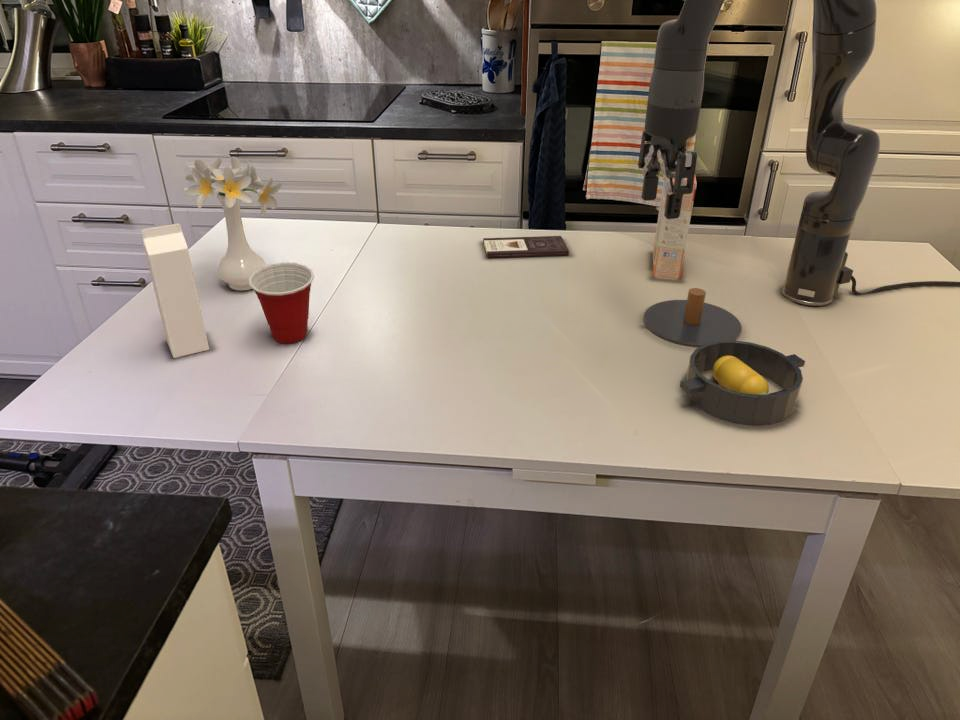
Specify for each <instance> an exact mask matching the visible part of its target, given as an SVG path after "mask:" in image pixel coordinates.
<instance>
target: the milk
mask: <svg viewBox="0 0 960 720" xmlns="http://www.w3.org/2000/svg"><path fill="white" fill-rule="evenodd" d="M140 232H141V237H142V245H143V250H144V254H145V259H146V263H147V266H148V270H149V274H150V278H151V282H152V286H153V290H154V294H155V298H156V302H157V307H158V311H159V315H160V319H161V323H162V326H163V331H164V334H165V340H166V343H167V345H168V348H169V351H170V353H171V355H172V358H174V359H176V358H180V357H184V356H188V355H194V354H198V353H200V352H206V351H209V350H210V346H209V341H208V337H207V332H206V326H205V321H204V317H203V312H202V307H201V304H200V299H199V294H198V290H197V284H196V279H195V276H194V270H193V266H192V261H191V256H190V251H189V247H188V245H187V241H186V238H185V235H184V233H183V229H182V225H181V223H173V224H167V225H160V226H155V227H148V228H143V229H141V231H140Z"/></svg>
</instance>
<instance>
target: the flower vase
mask: <svg viewBox="0 0 960 720" xmlns="http://www.w3.org/2000/svg"><path fill="white" fill-rule="evenodd" d="M246 162H247V166H244V167H243V168H242V169H241V163H240V161H239V159H238V158H237V157H236V156H231V157H230V164H231V168H230V167H229V166H225V167H224V168H223V170H222V169H219V168H220V166H221V165H222V158H220V157H218V158H215V159H214V160H213V161H211V163H210V164H209V166H208V164H207V163H206V162H205V161H204V160H203V159H200V158H197V159H195V160H194V167H193V168H192V169H191V173H190V174H187V175H186V176H185V180H186V181H188V182H195V184H192V185H190V186H189V187H188V188H186V196H189V197H195V196H196V197H197V200H196V206H197V208H198V209H202V208H203V206H204V204H205V202H206V200H207V198H208V197H209V198H212V197H213V196H214V194H215V192H217V194H216V198H217V199H218V200H219V203H220V205H221V207H222V211H223V214H224V218H225V219H224V220H225V223H226V225H225V226H226V233H227V248H226V252H225V255H224V256H223V257H222V258H221V260H220V261H219V263H218V267H217V274H218V277H220V279H221V281H223V282H225V283H226V284H227V285H228V287H229V288H230V289H231V290H233V291H234V290H235V291H238V292H239V291H242V292H243V291H249V290H253V289H252V288H251V286H250V283H249V278H250V276H251V275H252V273H254V272H255V271H256V270H258V269H259V268H262V267H264V266H267V264H266V262H265V260H264V258H263V257H262V256H261V255H260V254H258V253H257V252H255V251H254V250H253V249H252V247H251V246H250V245H249V242H248V239H247V237H246V234H245V229H244V225H243V224H244V223H243V219H242V214H241V213H242V211H241V202H243V203H245V204H252V202H254V201H253V198H252V196H251V195H250V193H248V192H253V193H255V194H257V195H258V198H257V203H258V204H259V208H260V216H261V217H262V218H264V217H265V216H266V214H267V208H268V207H269V208H270V209H271V210H275V209H276V208H278V202H277V199H276V198H275V197H274V196H273V195H275V194H276V193H278V192H279V191H280V190H281V188H282V186H283V185H282V182H277V183H275V184H273V177H270V178H269V179H268V180H267V181H266V183H265V185H264V183H262V179H261V177H260V176H259V174H258V173H257V172H256V167H255V166H254V165H251V164H250V162H249V160H248V159H246ZM267 206H268V207H267Z"/></svg>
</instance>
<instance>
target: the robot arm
mask: <svg viewBox="0 0 960 720" xmlns="http://www.w3.org/2000/svg"><path fill="white" fill-rule="evenodd" d="M683 1H684V3H683V6H682V8H681V10H680V13H679V15H678V18H676V19H671V20H667V21H665V22H663V23H662V24H661V25H660V27H659V28H658V31H657V36H656V42H655V43H656V44H655V51H654V60H653V67H652V73H651V76H650V80H649V87H648V95H647V102H646V103H647V104H646V110H645V111H646V113H645V121H644V128H643V129H644V130H643V131H642V135H641V142H640V148H639V155H638V161H637V162H638V163H637V167H638V169H642V170H641V175H642V176H643V182H642V183H643V184H642V190H641V199H642V200H643V201H644V202H645V201H655V200H656V199H657V194H658V189H659V188H658V187H659V180H660V177H659V175H660V173H661V178H662V180H663V181H666V185H667V191H668V194H667V199H666V206H665V213H664V216H665V217H666V218H667V219H676V218H678V217H679V216H680V211H681V204H682V197H683V195H684V194H691V193H692V191H693V184H694V176H695V177H696V167H697V160H698V153H697V151H687V140H689V139H690V138H693V137H694V136H696V135H697V132H698V125H699V120H700V119H699V118H700V113H701V107H702V106H701V105H702V100H703V93H704V87H705V68H706V62H707V55H708V48H709V42H710V37H711V34H712V32H713V29H714V28H715V25H716V23H717V20H718V17H719V15H720V12H721V10H722V7H723V5H724V3H725V0H683ZM812 1H813V4H812V5H813V8H812V9H813V13H812V25H811V26H812V29H811V30H812V31H811V32H812V33H811V34H812V36H811V37H812V38H811V40H812V41H811V42H812V43H811V50H812V51H811V52H812V75H811V76H812V78H811V96H810V97H811V99H810V108H809V109H810V110H809V117H808V126H807V133H806V142H805V157H806V162H807V165H808V167H809V168H810V169H812V170H813V171H814V172H817V173H820V174H822V175H825V176H829V177H832V178H835V179H834V182H833V184H832V187H831V189H827V190H817V191H816V190H815V191H812V192H810V193H807V195H806V196H805V198H804V201H803V204H802V207H801V208H802V209H801V212H800V217H799V222H798V225H797V230H796V234H795V238H794V241H793V246H792V251H791V254H790V258H789V263H788V266H787V270H786V275H785V278H784V279H785V280H784V283H783V286H782V288H781V294H782V295H783V296H784V298H786V299H787V300H789V301H791V302H794V303H796V304H799V305H803V306H810V307H811V306H812V307H818V306H819V307H821V306H827V305H830V304H831V303H832V302H833V300H834V299H837V295H838V292H839V288H840V285H844V284H848V283H851V292H852V294H854V295H855V296H864V295H871V294H876V293H878V292H881V291H884V290H890V289H897V288H903V287H904V288H905V287H913V286H939V285H940V286H943V285H944V286H960V281H948V280H947V281H945V280H942V281H941V280H929V281H927V280H926V281H912V282H903V283H896V284H889V285H883V286H880V287H877V288H874V289H872V290H870V291H867V292H859V291H857V289H856V288H857V279H856V278H855V276H854V275H853V273H854V269H852V268H849V267H848V266H846V264H847V260H848V257H849V253H848V252H847V251H846V250H847V247H848V244H849V241H850V237H851V234H852V230H853V226H854V223H855V219H856V216H857V212H858V210H859V208H860V207H861V204H862V203H863V201H864V198H865V197H866V193H867V190H868V187H869V185H870V181H871V178H872V176H873V173H874V170H875V167H876V164H877V162H878V158H879V154H880V149H881V140H880V135H879V134H878V132H876V131H875V130H873V129H870V128H868V127H867V128H866V127H864V126H859V125H855V124H850V123H846V122H845V119H844V104H845V98H846V95H847V93H848V91H849V89H850V87H851V85H852V84H853V83H854V81H855V80H856V79H857V77H858V76H859V75H860V73H861V72H862V71H863V69H864V68H865V66H866V65H867V63H868V62H869V60H870V58H871V56H872V54H873V51H874V48H875V44H876V43H875V42H876V28H877V2H876V0H812ZM672 172H676V173H672ZM685 178H687V185H686V183H685ZM673 180H675V181H674V186H673Z"/></svg>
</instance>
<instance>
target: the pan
mask: <svg viewBox="0 0 960 720" xmlns="http://www.w3.org/2000/svg"><path fill="white" fill-rule="evenodd" d="M723 356H734V357H736V358H738V359H739V360H741V361H742V362H743V363H745V364H746V365H747V366H749V367H750V368H751V369H753V370H754V371H755V372H757V373H758V374H760V375H761V376H762V377H763V378H766V379H768V380H769V381H772V382H773V383H775V384H777V386H779V387H781V388H782V390H778V391H774V392H771V393H768V394H766V395H754V394H747V393H740V392H736V391H733V390H729V389H726V388H723V387H721V386H719V385H718V384H717V383H715V382H713V381H711V380H709V379H708V378H707V377H705V376H704V375H703V374H702V373H703V372H707V371H713V366H714V364H715V362H716V361H717V360H718V359H719V358H721V357H723ZM805 365H806V360H804V359H803V358H801V357H800V356H798V355H797V354H796V353H793V354H790V355H789V354H788V355H785V354H784V353H782V352H780V351H778V350H776V349H773V348H771V347H769V346H766V345H762V344H758V343H754V342H750V341H742V340H735V341H734V340H732V341H716V342H711V343H707V344H704V345H702V346H700V347H696V348H695V349H694V350H693V352H692V353H691V354H690V356H689V360H688V367H687V372H686V378H685V379H683V380H681V381H680V383H679V388H680V389H682V390H683V391H684V392H685V393H686V395H687V396H688V398H689V400H690V401H691V402H692V403H693V404H694V405H695V406H696V407H698V409H700V410H701V411H703V413H706V414H708V415H709V416H712V417H714V418H716V419H718V420H722V421H725V422H728V423H731V424H737V425H743V426H769V425H772V424H778V423H780V422H783V421H784V420H787V418H789V417H790V416H792V415H793V412H794V411H795V409H796V405H797V402H798V398H799V394H800V392H801V388H802V385H803V384H802V383H803V380H804V378H803V374H802V370H801V369H800V368H802V367H805Z"/></svg>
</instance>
